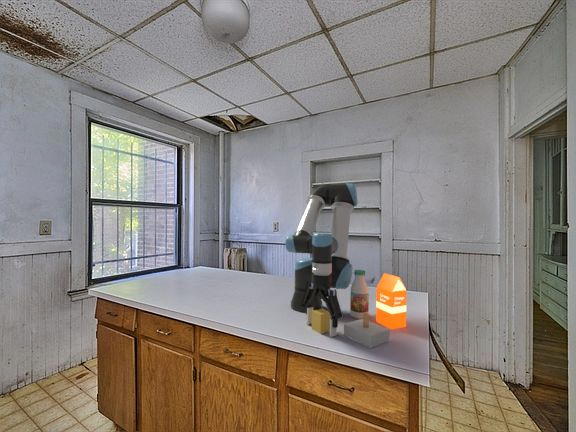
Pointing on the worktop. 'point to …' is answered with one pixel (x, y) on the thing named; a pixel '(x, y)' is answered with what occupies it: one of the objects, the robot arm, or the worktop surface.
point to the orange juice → (391, 302)
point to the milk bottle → (359, 295)
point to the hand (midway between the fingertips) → (320, 329)
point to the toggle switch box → (366, 332)
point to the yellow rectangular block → (321, 321)
